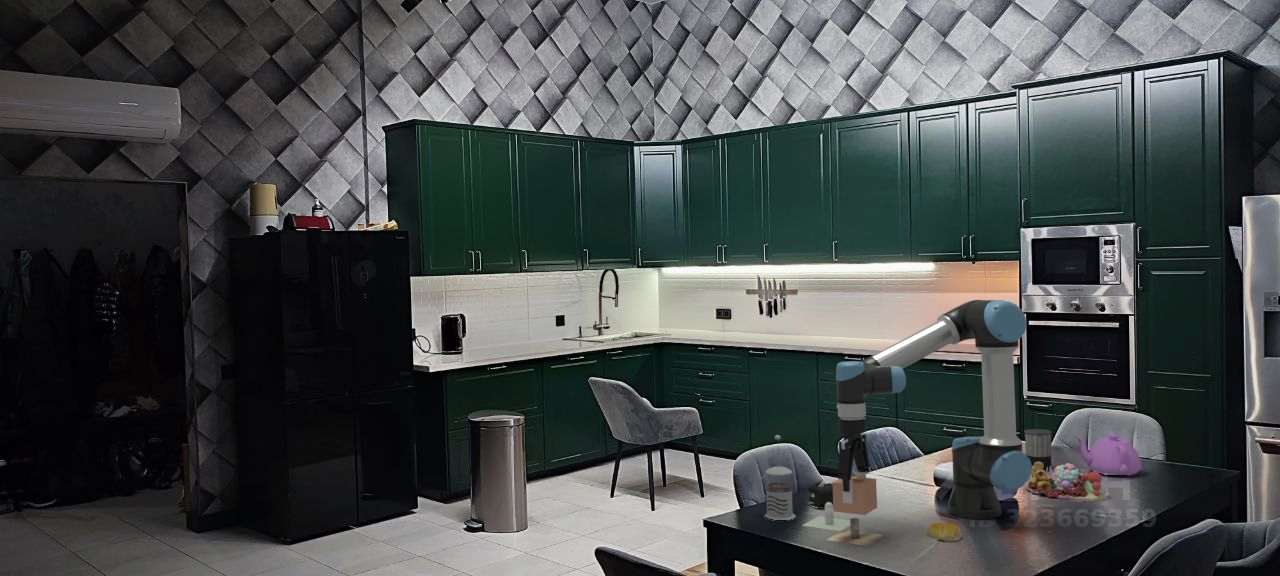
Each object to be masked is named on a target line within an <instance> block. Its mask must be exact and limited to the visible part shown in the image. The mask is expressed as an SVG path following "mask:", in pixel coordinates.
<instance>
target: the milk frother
mask: <svg viewBox="0 0 1280 576" xmlns="http://www.w3.org/2000/svg"><path fill="white" fill-rule="evenodd" d="M1024 437H1025V438H1024V439H1025V441H1024V442H1025V445H1024V446H1025V454H1026V455H1027V457H1028V458H1029V459H1030V461H1031V466H1033V465H1034V463H1035V462H1043V464H1044V466H1043V470H1045V472H1046V469H1047V466H1048V471H1050V466H1051V469H1053V466H1052V431H1051V430H1048V429H1041V428H1040V429H1037V428H1035V429H1034V428H1033V429H1025V430H1024ZM1048 471H1047V472H1048Z"/></svg>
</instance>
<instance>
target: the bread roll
mask: <svg viewBox="0 0 1280 576" xmlns="http://www.w3.org/2000/svg"><path fill="white" fill-rule="evenodd" d="M926 532H927V533H926V534H927V536H928V537H930V538H932V539H936V540H937V541H938V542H942V541H943V542H947V543H948V542H949V543H952V542H953V543H954V542H957V541H960V540H961V539H962V537H963V531H962V530H961V529H960V528H959V527H958V526H957V525H956V524H953V523H947V524H943V523H940V522H939V523H938V522H937V523H936V522H935V523H933V524H931V525H929V526H928V527H927V530H926Z"/></svg>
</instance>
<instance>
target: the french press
mask: <svg viewBox="0 0 1280 576" xmlns="http://www.w3.org/2000/svg"><path fill="white" fill-rule="evenodd" d="M774 439H775V440H781V439H782V437H781V436H780V435H778V434H776V435H775V436H774ZM765 474H766V475H763V476H762V477H760V478H759V480H758V484H757V490H758V493H759V495H760V497H762V499H764V500H765V501H766V513H765V514H764V516H765V517H767V518H769V519H773V520H772V521H775V520H787V521H792V520H795V519H796V518H797V516H796V515H795V514H794V512H793V489H792V488H791V486H792V484H791V483H789V482H780V481H777V482H770V483H768V484H767V487H768V488H767V490H766V495H765V493H764V492H763V490H762V481H763V479H764V478H765V481H768V480H769V479H770V476H773V477H775V476H776V477H785V476H791V474H793V471H792V470H791V469H789V468H788V467H785V466H780V453H779V447H777V466H772V467H769V468H768V469H767V470H765ZM760 491H761V492H760ZM781 491H782V492H781ZM765 517H764V518H765ZM795 517H796V518H795ZM794 518H795V519H794ZM769 519H768V520H769ZM791 519H792V520H791Z"/></svg>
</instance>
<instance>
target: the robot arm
mask: <svg viewBox="0 0 1280 576" xmlns="http://www.w3.org/2000/svg"><path fill="white" fill-rule="evenodd" d="M1026 329H1027V319H1026V316H1025V313H1024V312H1023V310H1022V309H1021V308H1020V307H1019V306H1018V305H1017V304H1015V303H1014V302H1012V301H1009V300H1003V299H989V300H988V299H987V300H985V299H974V300H973V299H972V300H969V301H967V302H964V303H962V304H960V305H958V306H956V307H954V308H952V309H949V311H946V312H945V313H942V314H941V315H939V316H938V317H937V320H936V321H935V322H933V323H932V324H930V325H928V326H926V327H924V328H922V329H920V330H918V331H916V332H915V333H912V334H911V335H909V336H907V337H904V338H903V339H901V340H900V341H899V340H898V341H897V342H896V343H893V344H892V345H890V346H888V347H886V348H884V349H882V350H881V351H879V352H877V353H875V354H873V355H872V356H870V357H867V358H865V359H863V360H861V361H858V360H857V361H855V360H854V361H840V362H838V363H837V365H836V371H835V373H836V374H835V375H836V376H835V380H836V393H837V395H836V398H837V399H836V400H837V401H836V402H837V405H836V409H837V416H838V417H839V418H838V420H837V423H838V425H837V427H838V429H837V430H838V432H839V433H840V434H843V440H842V441H838V452H839V453H838V470H837V472H838V474H837V477H838V478H837V480H838V479H842V491H843V503H849V504H853V480H852V479H851V476H852V474H853V473H852V472H853V465H854V463H855V467H856V469H857V470H856V472H855V477H862V478H867V473H869V472H870V462H869V454H868V445H867V435H866V434H865V432H867V420H866V418H865V417H866V416H867V410H866V408H867V407H866V396H872V395H888V394H891V395H893V394H896V393H898V394H899V393H901V392H903V391H904V390H905V388H906V385H907V377H906V374H905V371H904V369H905V368H906V367H908V366H911V365H912V364H913V365H914V363H916V362H918V361H920V360H922V359H924V358H926V357H928V356H929V355H931V354H933V353H935V352H937V351H939V350H940V349H943V348H945V347H946V346H948V345H957V344H959V343H961V342H963V341H968V340H973V339H974V340H975V341H974V343H975V348H976V349H977V351H979V352H980V354H981V355H980V356H981V380H982V383H981V384H982V403H983V404H982V406H983V407H982V408H983V411H982V412H983V436H964V437H957V438H954V439H953V441H952V443H951V444H952V446H951V454H952V455H951V456H952V479H953V480H952V483H953V485H952V490H951V493H950V496H949V500H948V503H947V512H948V513H949V514H950V515H952V516H956V517H959V518H964V519H975V520H976V519H978V520H986V519H995V518H998V517H1001V516H1002V508H1001V504H1000V500H999V499H998V495H997V493H996V490H995V489H997V490H998V489H999V490H1003V491H1008V492H1009V491H1010V492H1011V491H1017V490H1018V489H1020V488H1022V487H1023V486H1025V484H1026V483H1027V482H1028V481H1029V479H1030V477H1031V476H1032V475H1031V470H1032V466H1031V461H1030V459H1029V458H1028V457H1027V455H1026V453H1024V451H1023V441H1022V440H1021V439H1020V438H1019V437H1018V436H1017V426H1016V425H1017V423H1016V422H1017V421H1016V418H1017V417H1016V399H1015V398H1016V396H1015V394H1016V393H1015V372H1014V371H1015V370H1014V368H1015V367H1014V352H1015V351H1016V350H1017V349H1018V348H1019V340H1020V339H1021V338H1023V334H1025V332H1026V331H1027V330H1026Z"/></svg>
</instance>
